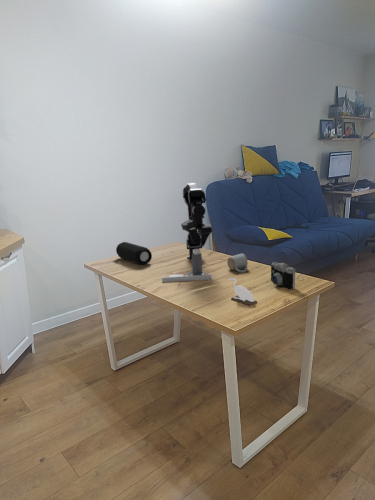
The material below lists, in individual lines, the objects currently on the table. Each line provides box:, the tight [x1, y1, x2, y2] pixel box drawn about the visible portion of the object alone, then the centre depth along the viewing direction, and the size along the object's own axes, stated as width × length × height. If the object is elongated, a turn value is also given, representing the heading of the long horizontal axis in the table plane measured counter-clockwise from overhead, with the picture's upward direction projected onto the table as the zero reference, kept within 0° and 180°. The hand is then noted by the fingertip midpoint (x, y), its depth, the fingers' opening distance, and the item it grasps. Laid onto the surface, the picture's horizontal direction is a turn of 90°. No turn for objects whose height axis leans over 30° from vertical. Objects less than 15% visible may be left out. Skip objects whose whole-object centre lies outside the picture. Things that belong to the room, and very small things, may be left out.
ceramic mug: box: [227, 253, 249, 274], centre depth 180 cm, size 11×8×8 cm
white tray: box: [161, 271, 212, 283], centre depth 174 cm, size 23×12×2 cm, turn 91°
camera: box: [270, 261, 296, 290], centre depth 157 cm, size 15×7×10 cm, turn 22°
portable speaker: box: [115, 241, 153, 266], centre depth 206 cm, size 26×10×10 cm, turn 40°
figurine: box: [226, 277, 258, 307], centre depth 143 cm, size 14×4×9 cm, turn 41°
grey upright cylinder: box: [191, 248, 203, 276], centre depth 172 cm, size 5×5×13 cm
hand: (198, 244), depth 184 cm, fingers open, 9 cm apart
